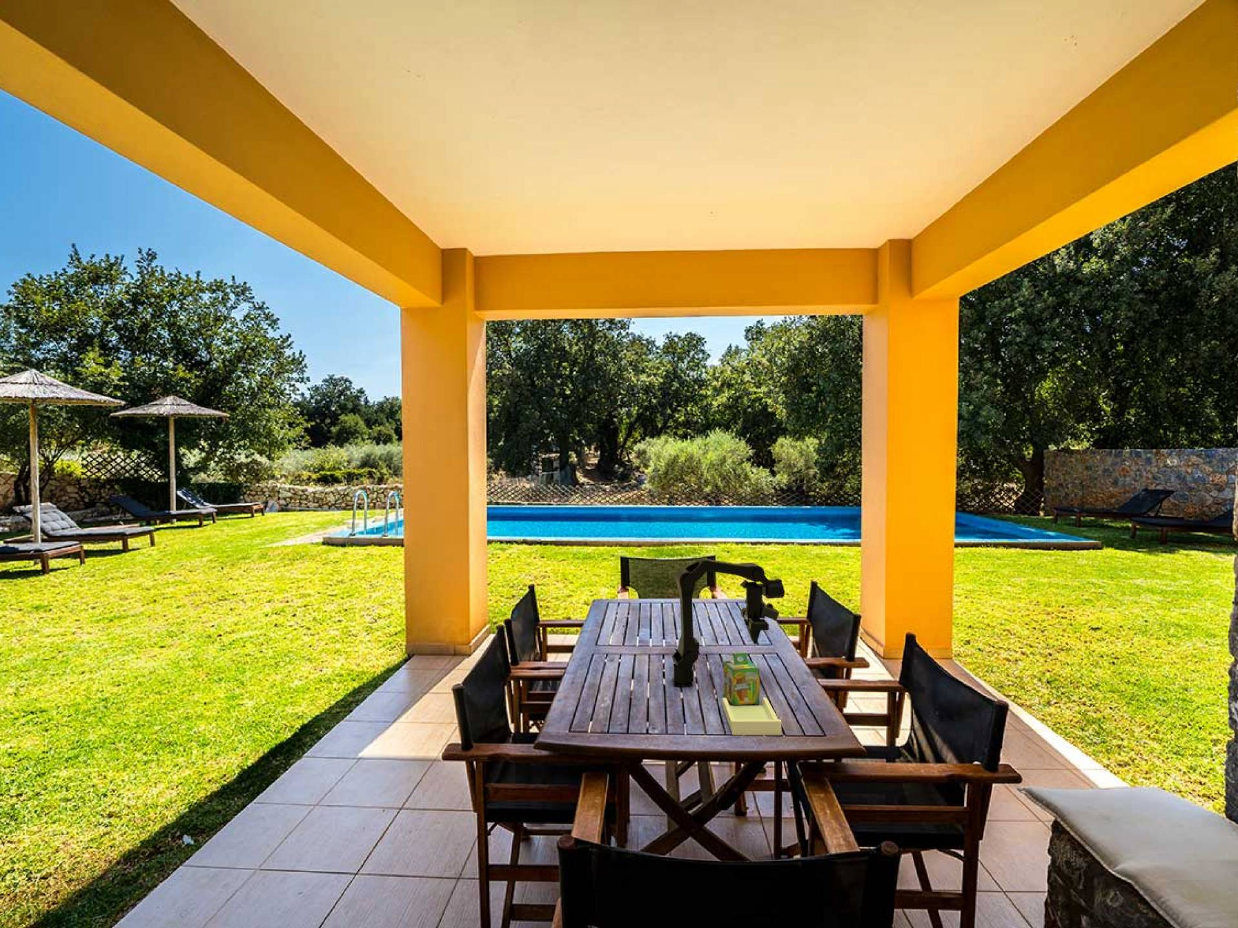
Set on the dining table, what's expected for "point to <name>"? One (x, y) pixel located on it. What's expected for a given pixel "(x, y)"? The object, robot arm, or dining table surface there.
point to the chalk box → (741, 681)
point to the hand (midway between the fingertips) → (754, 642)
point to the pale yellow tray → (752, 719)
